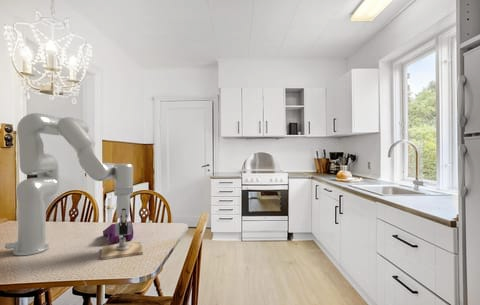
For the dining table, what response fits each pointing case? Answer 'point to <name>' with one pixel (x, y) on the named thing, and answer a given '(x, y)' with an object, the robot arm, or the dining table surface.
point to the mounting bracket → (111, 234)
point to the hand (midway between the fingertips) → (123, 231)
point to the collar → (118, 229)
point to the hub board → (121, 250)
